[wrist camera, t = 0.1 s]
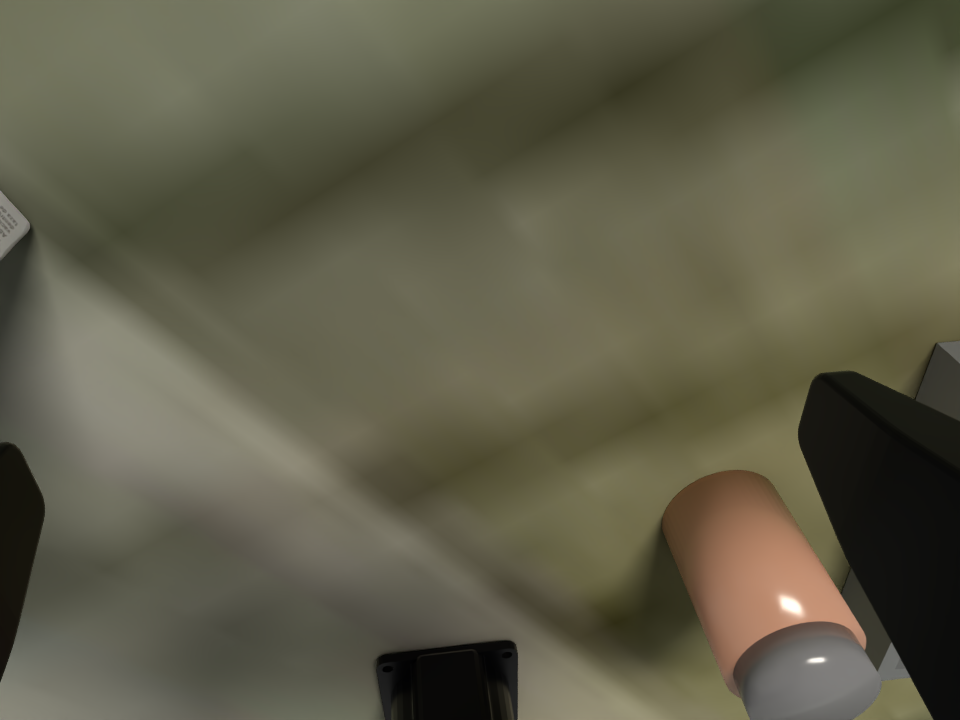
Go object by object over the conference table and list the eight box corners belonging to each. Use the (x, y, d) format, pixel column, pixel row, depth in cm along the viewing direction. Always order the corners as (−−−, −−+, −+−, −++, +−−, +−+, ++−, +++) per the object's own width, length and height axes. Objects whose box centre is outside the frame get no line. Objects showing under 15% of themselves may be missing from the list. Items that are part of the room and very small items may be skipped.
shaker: (765, 547, 33) (867, 733, 27) (656, 559, 33) (730, 750, 26) (788, 464, 31) (909, 647, 24) (669, 476, 30) (756, 666, 23)
